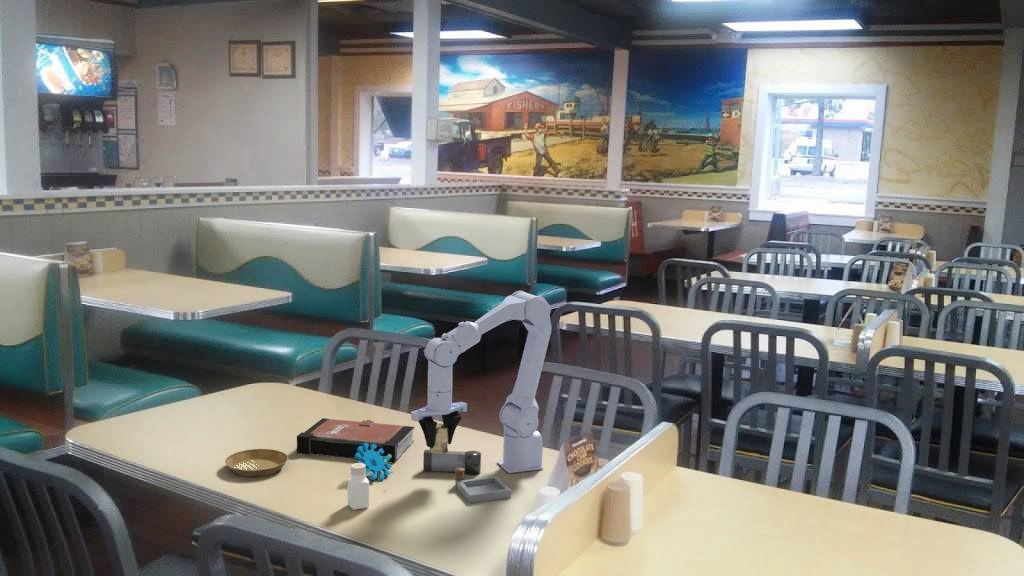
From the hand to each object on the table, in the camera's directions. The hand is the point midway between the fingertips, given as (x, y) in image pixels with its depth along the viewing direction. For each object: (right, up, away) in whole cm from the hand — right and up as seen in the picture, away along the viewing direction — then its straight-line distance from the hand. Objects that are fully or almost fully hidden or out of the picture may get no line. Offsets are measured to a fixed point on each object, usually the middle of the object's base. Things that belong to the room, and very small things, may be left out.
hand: (438, 444), depth 208 cm
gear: (-16, -8, +4) cm, 18 cm away
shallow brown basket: (-45, -7, +6) cm, 46 cm away
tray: (+11, -10, -5) cm, 16 cm away
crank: (+3, -8, +8) cm, 11 cm away
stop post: (+5, -9, -1) cm, 11 cm away
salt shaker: (-17, -11, -14) cm, 25 cm away
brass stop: (0, -1, 0) cm, 1 cm away
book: (-23, -5, +23) cm, 33 cm away
